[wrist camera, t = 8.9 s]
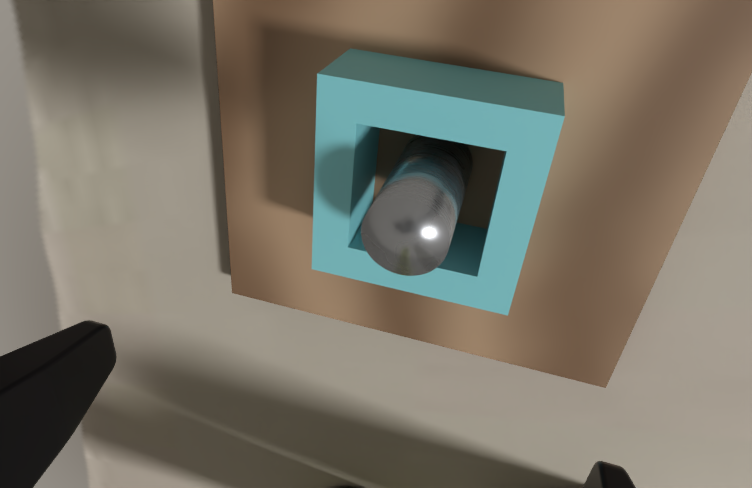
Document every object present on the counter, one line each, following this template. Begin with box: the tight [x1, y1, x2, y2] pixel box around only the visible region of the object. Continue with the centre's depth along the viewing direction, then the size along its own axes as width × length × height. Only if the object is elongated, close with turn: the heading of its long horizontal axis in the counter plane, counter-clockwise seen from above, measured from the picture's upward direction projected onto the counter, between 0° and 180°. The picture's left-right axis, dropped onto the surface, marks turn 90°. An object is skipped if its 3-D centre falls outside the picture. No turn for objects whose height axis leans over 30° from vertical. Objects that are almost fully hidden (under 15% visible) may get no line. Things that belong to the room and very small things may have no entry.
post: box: [361, 135, 473, 276], centre depth 17 cm, size 2×2×5 cm
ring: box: [312, 48, 565, 316], centre depth 18 cm, size 7×7×3 cm
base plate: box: [213, 0, 752, 388], centre depth 19 cm, size 16×16×1 cm
